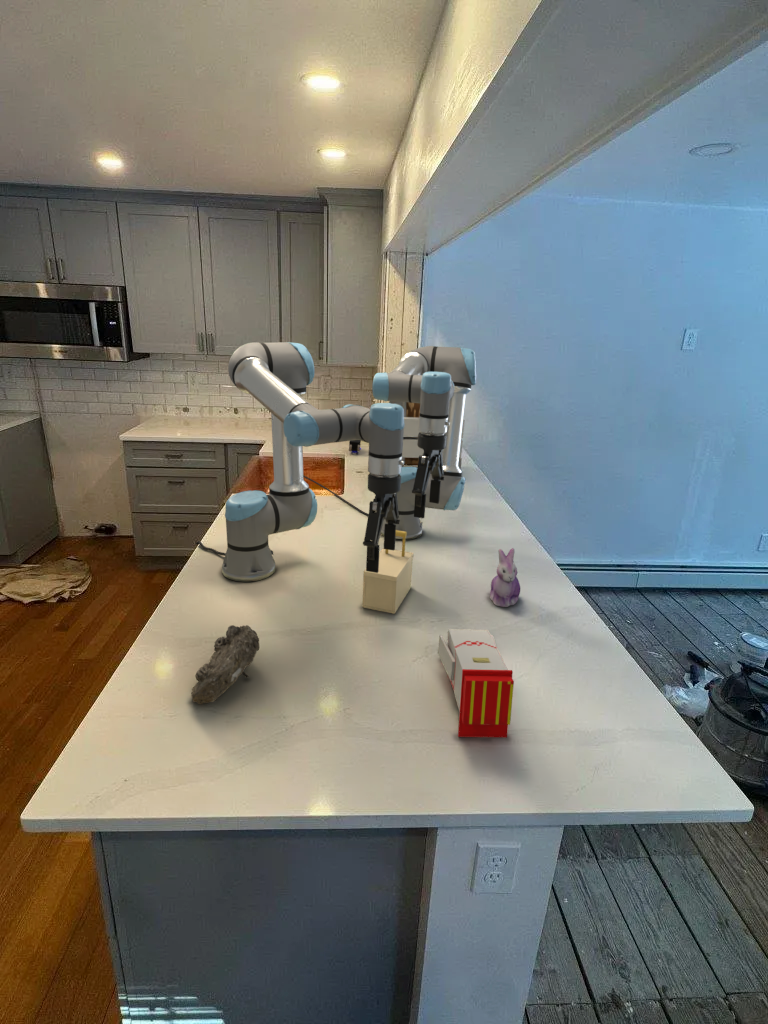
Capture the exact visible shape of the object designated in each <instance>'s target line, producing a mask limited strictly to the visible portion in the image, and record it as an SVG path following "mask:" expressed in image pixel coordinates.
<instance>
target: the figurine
mask: <svg viewBox="0 0 768 1024" xmlns="http://www.w3.org/2000/svg"><path fill="white" fill-rule="evenodd" d="M514 558H515V548H514V547H512V548H511V549H509V551H508V553H507V555H506V554H505V551H503V549H501V548H499V549H498V565H497V568H496V574H497V575H495V576H494V577H493V578H492V579H491V582H490V591H489V599H490V600H491V601H492V602H493V604H494V605H495V606H497V607H503V608H507V607H510V606H514V605H516V603H518V601H519V597H520V594H521V584H520V581H519V579H518V577H517V576H518V569H517V567H516V564H515V561H514Z"/></svg>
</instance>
